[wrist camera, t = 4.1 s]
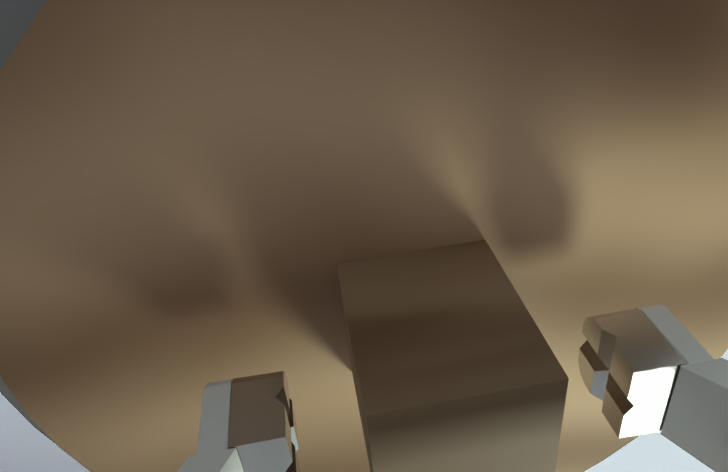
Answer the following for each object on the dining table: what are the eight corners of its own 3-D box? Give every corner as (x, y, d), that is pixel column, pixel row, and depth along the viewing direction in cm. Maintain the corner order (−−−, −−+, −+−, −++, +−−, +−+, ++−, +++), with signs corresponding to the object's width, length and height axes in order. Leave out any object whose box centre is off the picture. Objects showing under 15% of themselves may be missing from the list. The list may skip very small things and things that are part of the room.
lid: (681, 449, 20) (795, 607, 15) (138, 556, 18) (103, 762, 14) (906, -231, 10) (1391, -301, 6) (-245, -109, 8) (-748, -82, 4)
